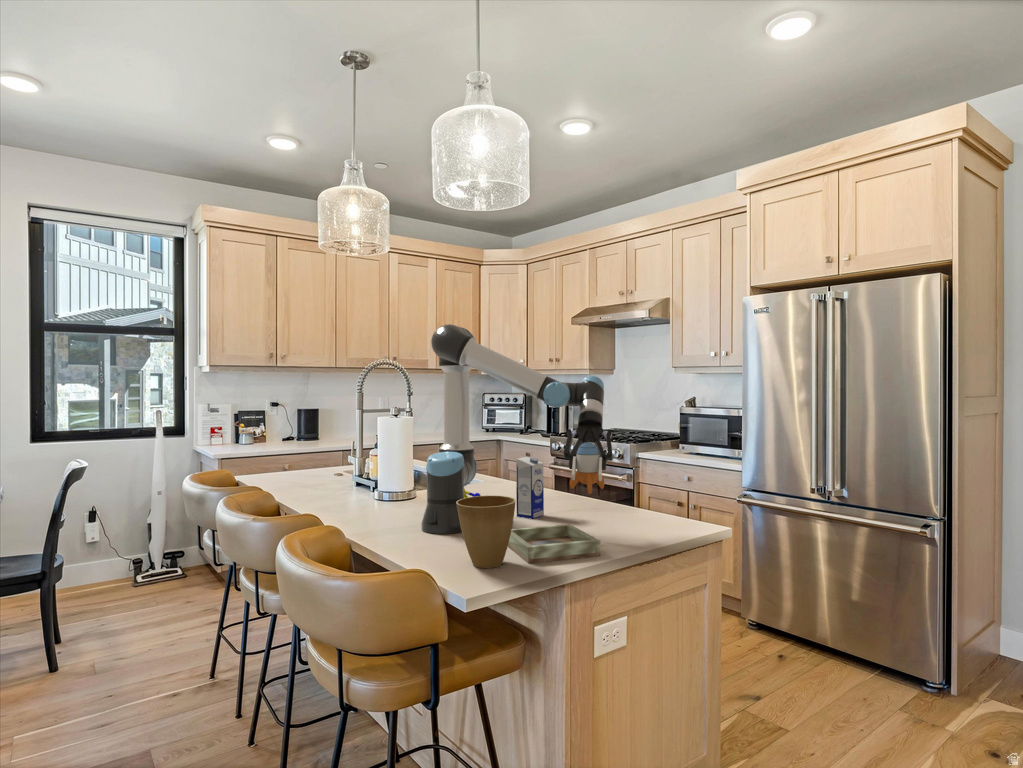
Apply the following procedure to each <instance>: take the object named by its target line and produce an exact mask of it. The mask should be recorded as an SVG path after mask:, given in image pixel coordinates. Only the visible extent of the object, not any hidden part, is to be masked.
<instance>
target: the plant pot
mask: <svg viewBox="0 0 1023 768" xmlns="http://www.w3.org/2000/svg"><path fill="white" fill-rule="evenodd" d="M516 503H517V499H515V497H511V496H505V495H481V496H475V497H473V496H468V498H463V499H460V500H458V501H457V502H456V504H457V510H458V516H459V521H460V526H461V530H462V533H461V534H462V537H463V541H464V544H465V547H466V549H467V550H466V551H467V553H468V556H469V558H470V560H471V563H472V565H473V566H474V567H476V568H480V569H492V568H497V567H500V566H501V565H503V562H504V559H505V557H506V554H507V550H508V548H509V547H508V543H509V539H510V535H511V530H512V529H513V524H514V519H515V512H516V511H515V510H516Z"/></svg>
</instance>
